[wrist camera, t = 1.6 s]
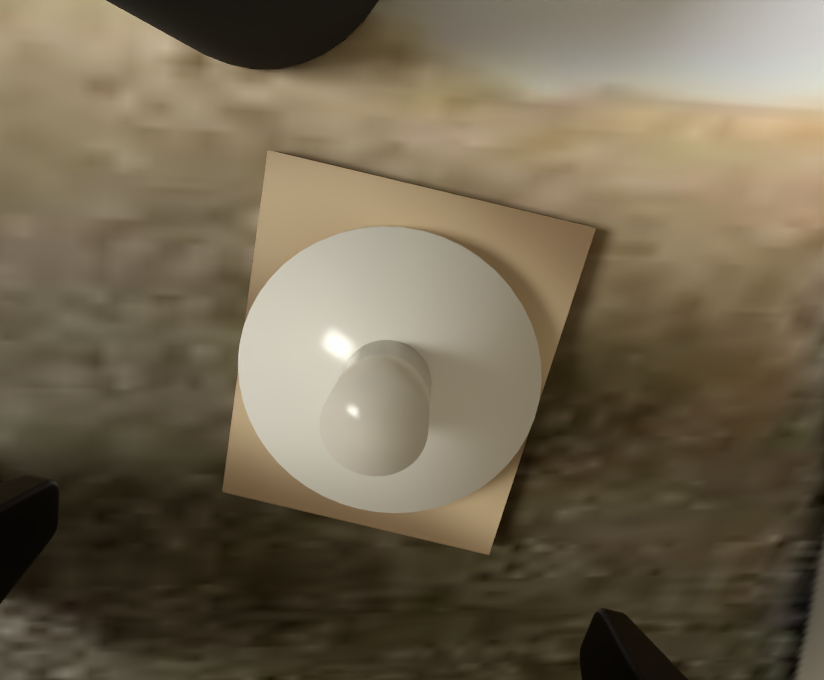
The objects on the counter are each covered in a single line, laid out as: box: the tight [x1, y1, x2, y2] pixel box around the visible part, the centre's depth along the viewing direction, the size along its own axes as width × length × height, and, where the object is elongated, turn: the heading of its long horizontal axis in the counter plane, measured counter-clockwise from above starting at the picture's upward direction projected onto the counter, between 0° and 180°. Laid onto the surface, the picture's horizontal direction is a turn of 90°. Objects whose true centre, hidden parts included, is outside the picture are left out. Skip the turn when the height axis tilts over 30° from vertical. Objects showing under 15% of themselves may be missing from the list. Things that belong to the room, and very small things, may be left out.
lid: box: [238, 225, 542, 513], centre depth 15 cm, size 10×10×4 cm
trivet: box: [222, 150, 596, 555], centre depth 17 cm, size 12×10×1 cm
